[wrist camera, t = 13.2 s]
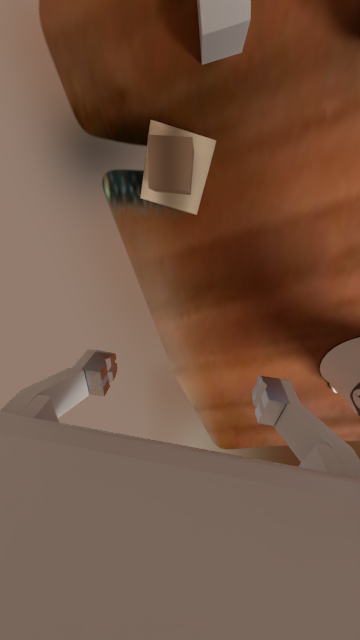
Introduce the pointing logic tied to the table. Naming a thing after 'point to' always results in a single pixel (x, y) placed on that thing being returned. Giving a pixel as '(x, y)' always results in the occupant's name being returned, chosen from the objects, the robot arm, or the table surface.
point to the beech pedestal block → (199, 175)
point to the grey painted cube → (222, 27)
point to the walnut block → (170, 164)
